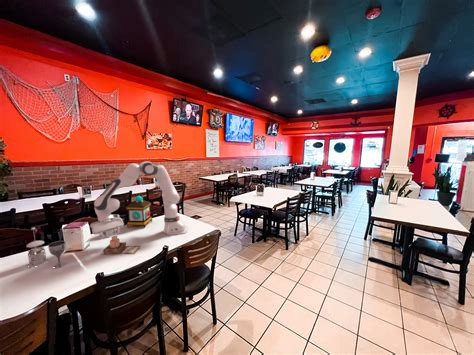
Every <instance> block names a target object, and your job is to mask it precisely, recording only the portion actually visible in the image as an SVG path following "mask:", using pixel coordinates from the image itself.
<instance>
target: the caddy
mask: <svg viewBox="0 0 474 355" xmlns="http://www.w3.org/2000/svg"><path fill="white" fill-rule="evenodd" d="M141 247H142V245H127V242H125V241H122V242H121V241H120V247H119V248H118V249H110V243H109V244H108V245H107V246H106V247H105V248H103V254H102V255H103V256H106V255H107V256H108V255H109V256H112V255H115V256H117V255H136V253H137V252H138V251H139V250H140V249H141Z"/></svg>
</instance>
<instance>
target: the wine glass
mask: <svg viewBox="0 0 474 355" xmlns="http://www.w3.org/2000/svg"><path fill="white" fill-rule="evenodd" d="M47 247H48V251H49V253H50V254H51V255H52V256H54V257H56V259H57V261H58V262H57V263H55V264H53V265H54V266H53V265H52V266H53V267H55V268H54V269H60V268H62V267H64V266H66V265H67V261H61V256H62V254H63V253H64V252H65V251H66V241H65V240H58V241H54V242H51V243H49V244H48V246H47Z"/></svg>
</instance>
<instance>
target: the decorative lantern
mask: <svg viewBox="0 0 474 355" xmlns="http://www.w3.org/2000/svg"><path fill="white" fill-rule="evenodd" d="M151 206H152V202H150V201H147V200H145V199H144V198H143V197H142V196H141V195H137V196H136V197H135V198H134V201H133V202H131V203H129V204H128V205H127V206H126V210H127V224H126V227H127V228H130V226H143V228H144V229H145V228H146V225H147V224H148V223H149V222H151V223H152V222H153V218H152V216H151Z"/></svg>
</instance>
